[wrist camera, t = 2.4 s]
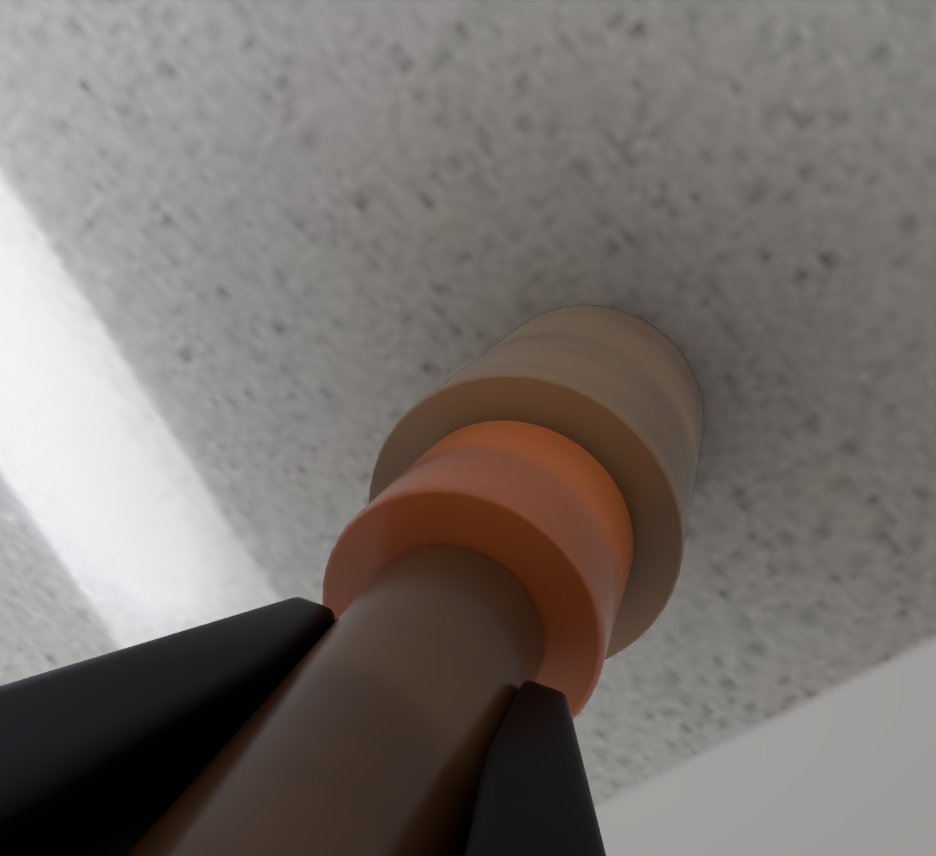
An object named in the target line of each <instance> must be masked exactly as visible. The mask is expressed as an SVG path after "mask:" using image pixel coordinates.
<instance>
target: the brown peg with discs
mask: <svg viewBox="0 0 936 856" xmlns="http://www.w3.org/2000/svg"><path fill="white" fill-rule="evenodd" d="M633 548H634V538H633V530H632V523H631V519H630V516H629V512H628V508H627V506H626V504H625V501H624V499H623V497H622V494H621V492H620V491H619V489H618V487H617V486H616V484H615V482H614V480H613V479H612V478H611V476H610V475H609V474H608V472H607V471H606V470H605V469H604V467H603V466H602V465H601V464H600V463H599V462H598V461H597V460H596V459H595V458H594V457H593V456H592V455H591V454H590V453H588V452H587V451H586V450H585V449H583V448H582V447H581V446H580V445H578V444H577V443H575V442H573V441H572V440H570V439H568V438H567V437H565V436H563V435H561V434H559V433H557V432H555V431H552V430H550V429H548V428H544V427H541V426H538V425H535V424H531V423H525V422H519V421H506V420H498V421H486V422H481V423H477V424H472V425H469V426H466V427H464V428H461V429H458V430H456V431H454V432H452V433H450V434H449V435H447V436H445V437H443V438H442V439H441V440H439V441H438V442H437V443H435V444H434V445H433V446H432V447H431V448H429V449H428V450H427V451H426V452H425V453H424V454H423V455H422V456H421V457H420V458H419V459H417V460H416V461H415V462H414V463H413V464H412V465H411V466H410V467H409V468H408V469H406V470H405V471H404V472H403V473H402V474H401V475H400V476H399V477H398V478H397V479H395V480H394V481H393V482H392V483H391V484H390V485H389V486H388V487H387V488H386V489H385V490H383V491H382V492H381V493H380V494H379V495H378V496H377V497H376V498H375V499H374V500H372V501H371V502H370V503H369V504H368V505H367V506H366V507H365V508H364V509H363V510H362V511H360V512H359V513H358V514H357V515H356V516H355V517H354V518H353V519H352V520H351V521H350V522H349V523H348V524H347V526H346V527H345V529H344V530H343V531H342V533H341V534H340V536H339V537H338V539H337V541H336V543H335V545H334V547H333V549H332V551H331V553H330V556H329V559H328V563H327V566H326V570H325V576H324V582H323V606H326V607H328V608H330V609H332V611H333V613H334V614H335V622H334V623H333V624H332V625H331V626H330V628H329V629H328V630H327V631H326V632H325V633H324V634H323V635H322V636H321V638H320V639H319V640H318V641H317V642H316V643H315V644H314V645H313V647H312V648H311V649H310V650H309V651H308V652H307V653H306V654H305V656H304V657H303V658H302V659H301V660H300V661H299V662H298V663H297V664H296V666H295V667H294V668H293V669H292V670H291V671H290V672H289V673H288V675H287V676H286V677H285V678H284V679H283V680H282V681H281V682H280V684H279V685H278V686H277V687H276V688H275V689H274V690H273V691H272V692H271V694H270V695H269V696H268V697H267V698H266V699H265V700H264V701H263V703H262V704H261V705H260V706H259V707H258V708H257V709H256V710H255V712H254V713H253V714H252V715H251V716H250V717H249V718H248V719H247V720H246V722H245V723H244V724H243V725H242V726H241V727H240V728H239V729H238V731H237V732H236V733H235V734H234V735H233V736H232V737H231V738H230V740H229V741H228V742H227V743H226V744H225V745H224V746H223V747H222V749H221V750H220V751H219V752H218V753H217V754H216V755H215V756H214V757H213V759H212V760H211V761H210V762H209V763H208V764H207V765H206V766H205V768H204V769H203V770H202V771H201V772H200V773H199V774H198V775H197V777H196V778H195V779H194V780H193V781H192V782H191V783H190V784H189V785H188V787H187V788H186V789H185V790H184V791H183V792H182V793H181V794H180V796H179V797H178V798H177V799H176V800H175V801H174V802H173V803H172V805H171V806H170V807H169V808H168V809H167V810H166V811H165V812H164V813H163V815H162V816H161V817H160V818H159V819H158V820H157V821H156V822H155V824H154V825H153V826H152V827H151V828H150V829H149V830H148V831H147V833H146V834H145V835H144V836H143V837H142V838H141V839H140V840H139V841H138V843H137V844H136V845H135V846H134V847H133V848H132V849H131V850H130V852H129V853H128V854H127V855H126V856H462V852H463V847H464V843H465V839H466V835H467V831H468V827H469V823H470V819H471V815H472V811H473V807H474V803H475V799H476V795H477V791H478V787H479V783H480V779H481V775H482V771H483V768H484V764H485V761H486V757H487V755H488V752H489V750H490V748H491V745H492V743H493V741H494V739H495V737H496V735H497V733H498V731H499V729H500V727H501V725H502V723H503V721H504V719H505V717H506V715H507V713H508V711H509V709H510V707H511V705H512V703H513V701H514V699H515V697H516V695H517V693H518V691H519V688H520V687H521V685H522V683H524V682H525V681H533V682H536V683H539V684H541V685H544V686H547V687H550V688H553V689H555V690H558V691H561V692H563V693H564V694H565V696H566V697H567V700H568V704H569V708H570V712H571V716H572V719H573V718H574V717H575V716H576V715H577V714H578V713H579V712H580V711H581V710H582V708H583V707H584V706H585V704H586V703H587V702H588V700H589V698H590V697H591V695H592V693H593V691H594V689H595V687H596V685H597V682H598V679H599V676H600V673H601V670H602V666H603V663H604V659H605V656H606V653H607V649H608V646H609V642H610V639H611V635H612V632H613V629H614V625H615V622H616V618H617V615H618V611H619V608H620V605H621V601H622V598H623V594H624V591H625V587H626V584H627V581H628V577H629V574H630V570H631V566H632V560H633Z"/></svg>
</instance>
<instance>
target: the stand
mask: <svg viewBox="0 0 936 856" xmlns="http://www.w3.org/2000/svg"><path fill="white" fill-rule="evenodd" d="M498 420H506V421H519V422H525V423H531V424H535V425H538V426H541V427H544V428H548V429H550V430H552V431H555V432H557V433H559V434H561V435H563V436H565V437H567V438H568V439H570V440H572V441H573V442H575V443H577V444H578V445H580V446H581V447H582V448H583V449H585V450H586V451H587V452H588V453H590V454H591V455H592V456H593V457H594V458H595V459H596V460H597V461H598V462H599V463H600V464H601V465H602V466H603V467H604V469H605V470H606V471H607V472H608V474H609V475H610V476H611V478H612V479H613V480H614V482H615V484H616V486H617V487H618V489H619V491H620V492H621V494H622V497H623V499H624V501H625V504H626V506H627V508H628V512H629V516H630V519H631V523H632V530H633V538H634V548H633V560H632V566H631V570H630V574H629V577H628V581H627V584H626V587H625V591H624V594H623V598H622V601H621V605H620V608H619V611H618V615H617V618H616V622H615V625H614V629H613V632H612V635H611V639H610V642H609V646H608V649H607V653H606V656H605V659H607V658H609V657H611V656H613V655H614V654H616V653H618V652H620V651H622V650H623V649H625V648H626V647H628V646H629V645H630V644H632V643H633V642H634V641H636V640H637V639H638V638H639V637H640V636H641V635H642V634H643V633H644V632H645V631H646V630H647V629H649V628H650V627H651V626H652V624H653V623H654V622H655V620H656V619H657V618H658V616H659V615H660V614H661V612H662V611H663V609H664V607H665V606H666V604H667V602H668V600H669V598H670V596H671V594H672V592H673V589H674V586H675V584H676V581H677V578H678V575H679V570H680V565H681V560H682V554H683V548H684V543H685V537H686V531H687V525H688V519H689V513H690V507H691V501H692V495H693V489H694V484H695V478H696V472H697V466H698V460H699V454H700V448H701V442H702V436H703V427H704V413H703V403H702V398H701V394H700V390H699V386H698V384H697V381H696V379H695V376H694V374H693V372H692V370H691V368H690V366H689V365H688V363H687V361H686V359H685V358H684V357H683V355H682V354H681V353H680V351H679V350H678V349H677V347H676V346H675V345H674V344H673V343H672V342H671V341H670V340H669V339H668V338H667V337H666V336H665V335H663V334H662V333H661V332H660V331H658V330H657V329H656V328H654V327H653V326H651V325H650V324H648V323H646V322H645V321H643V320H641V319H640V318H637V317H635V316H633V315H630V314H628V313H625V312H622V311H619V310H615V309H611V308H606V307H599V306H572V307H564V308H560V309H556V310H552V311H549V312H546V313H544V314H542V315H539V316H537V317H535V318H533V319H531V320H529V321H528V322H526V323H524V324H523V325H521V326H520V327H519V328H517V329H516V330H515V331H513V332H512V333H511V334H509V335H508V336H507V337H505V338H504V339H503V340H501V341H500V342H499V343H497V344H496V345H495V346H493V347H492V348H491V349H489V350H488V351H486V352H485V353H484V354H482V355H481V356H480V357H478V358H477V359H476V360H474V361H473V362H472V363H470V364H469V365H468V366H466V367H465V368H464V369H462V370H461V371H460V372H458V373H457V374H456V375H454V376H453V377H452V378H450V379H449V380H448V381H446V382H445V383H444V384H442V385H441V386H440V387H438V388H437V389H436V390H434V391H433V392H431V393H430V394H429V395H427V396H426V397H425V398H424V399H422V400H421V401H420V402H418V403H417V404H416V405H415V406H413V407H412V408H411V409H410V410H409V411H408V412H407V413H406V414H405V415H404V416H403V417H402V418H401V419H400V420H399V421H398V423H397V424H396V426H395V427H394V428H393V430H392V431H391V433H390V434H389V436H388V437H387V439H386V441H385V443H384V445H383V447H382V449H381V451H380V453H379V455H378V458H377V461H376V464H375V467H374V470H373V475H372V480H371V486H370V496H369V503H370V502H371V501H372V500H374V499H375V498H376V497H377V496H378V495H379V494H380V493H381V492H382V491H383V490H385V489H386V488H387V487H388V486H389V485H390V484H391V483H392V482H393V481H394V480H395V479H397V478H398V477H399V476H400V475H401V474H402V473H403V472H404V471H405V470H406V469H408V468H409V467H410V466H411V465H412V464H413V463H414V462H415V461H416V460H417V459H419V458H420V457H421V456H422V455H423V454H424V453H425V452H426V451H427V450H428V449H429V448H431V447H432V446H433V445H434V444H435V443H437V442H438V441H439V440H441V439H442V438H443V437H445V436H447V435H449V434H450V433H452V432H454V431H456V430H458V429H461V428H464V427H466V426H469V425H472V424H477V423H481V422H486V421H498ZM605 659H604V660H605Z"/></svg>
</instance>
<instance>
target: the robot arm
mask: <svg viewBox="0 0 936 856" xmlns="http://www.w3.org/2000/svg"><path fill="white" fill-rule="evenodd" d="M334 622H335V614H334V613H333V611H332V609H330V608H328V607H326V606H323V605H320V604H317V603H315V602H312V601H309V600H306V599H303V598H300V597H295V598H291V599H287V600H284V601H281V602H277V603H274V604H271V605H267V606H264V607H261V608H257V609H254V610H251V611H248V612H244V613H241V614H238V615H234V616H231V617H228V618H224V619H221V620H218V621H214V622H211V623H208V624H204V625H201V626H198V627H194V628H191V629H188V630H185V631H181V632H178V633H175V634H171V635H168V636H165V637H161V638H158V639H155V640H151V641H148V642H145V643H141V644H138V645H135V646H131V647H128V648H125V649H122V650H118V651H115V652H112V653H108V654H105V655H102V656H98V657H95V658H92V659H88V660H85V661H82V662H78V663H75V664H72V665H68V666H65V667H62V668H59V669H55V670H52V671H49V672H45V673H42V674H39V675H35V676H32V677H29V678H25V679H22V680H19V681H15V682H12V683H9V684H5V685H2V686H0V856H126V855H127V854H128V853H129V852H130V850H131V849H132V848H133V847H134V846H135V845H136V844H137V843H138V841H139V840H140V839H141V838H142V837H143V836H144V835H145V834H146V833H147V831H148V830H149V829H150V828H151V827H152V826H153V825H154V824H155V822H156V821H157V820H158V819H159V818H160V817H161V816H162V815H163V813H164V812H165V811H166V810H167V809H168V808H169V807H170V806H171V805H172V803H173V802H174V801H175V800H176V799H177V798H178V797H179V796H180V794H181V793H182V792H183V791H184V790H185V789H186V788H187V787H188V785H189V784H190V783H191V782H192V781H193V780H194V779H195V778H196V777H197V775H198V774H199V773H200V772H201V771H202V770H203V769H204V768H205V766H206V765H207V764H208V763H209V762H210V761H211V760H212V759H213V757H214V756H215V755H216V754H217V753H218V752H219V751H220V750H221V749H222V747H223V746H224V745H225V744H226V743H227V742H228V741H229V740H230V738H231V737H232V736H233V735H234V734H235V733H236V732H237V731H238V729H239V728H240V727H241V726H242V725H243V724H244V723H245V722H246V720H247V719H248V718H249V717H250V716H251V715H252V714H253V713H254V712H255V710H256V709H257V708H258V707H259V706H260V705H261V704H262V703H263V701H264V700H265V699H266V698H267V697H268V696H269V695H270V694H271V692H272V691H273V690H274V689H275V688H276V687H277V686H278V685H279V684H280V682H281V681H282V680H283V679H284V678H285V677H286V676H287V675H288V673H289V672H290V671H291V670H292V669H293V668H294V667H295V666H296V664H297V663H298V662H299V661H300V660H301V659H302V658H303V657H304V656H305V654H306V653H307V652H308V651H309V650H310V649H311V648H312V647H313V645H314V644H315V643H316V642H317V641H318V640H319V639H320V638H321V636H322V635H323V634H324V633H325V632H326V631H327V630H328V629H329V628H330V626H331V625H332V624H333V623H334ZM462 856H606V854H605V850H604V846H603V841H602V837H601V834H600V829H599V825H598V821H597V817H596V813H595V809H594V805H593V801H592V797H591V793H590V789H589V785H588V781H587V777H586V773H585V769H584V765H583V760H582V756H581V752H580V748H579V744H578V740H577V736H576V732H575V728H574V724H573V720H572V716H571V712H570V708H569V704H568V700H567V697H566V696H565V694H564V693H563V692H561V691H558V690H555V689H553V688H550V687H547V686H544V685H541V684H539V683H536V682H533V681H525V682H524V683H522V685H521V687H520V688H519V691H518V693H517V695H516V697H515V699H514V701H513V703H512V705H511V707H510V709H509V711H508V713H507V715H506V717H505V719H504V721H503V723H502V725H501V727H500V729H499V731H498V733H497V735H496V737H495V739H494V741H493V743H492V745H491V748H490V750H489V752H488V755H487V757H486V761H485V764H484V768H483V771H482V775H481V779H480V783H479V787H478V791H477V795H476V799H475V803H474V807H473V811H472V815H471V819H470V823H469V827H468V831H467V835H466V839H465V843H464V847H463V852H462Z"/></svg>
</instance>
